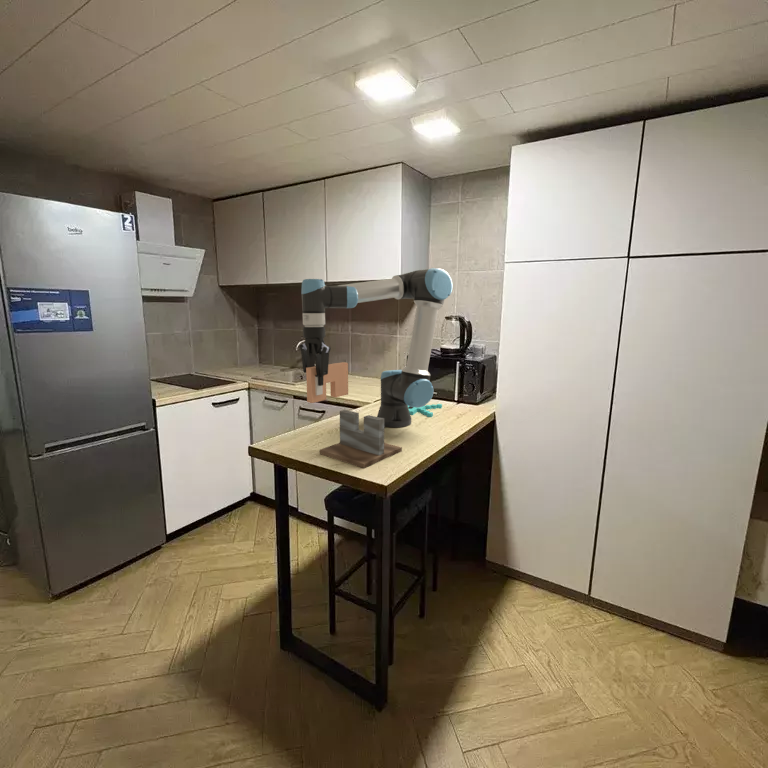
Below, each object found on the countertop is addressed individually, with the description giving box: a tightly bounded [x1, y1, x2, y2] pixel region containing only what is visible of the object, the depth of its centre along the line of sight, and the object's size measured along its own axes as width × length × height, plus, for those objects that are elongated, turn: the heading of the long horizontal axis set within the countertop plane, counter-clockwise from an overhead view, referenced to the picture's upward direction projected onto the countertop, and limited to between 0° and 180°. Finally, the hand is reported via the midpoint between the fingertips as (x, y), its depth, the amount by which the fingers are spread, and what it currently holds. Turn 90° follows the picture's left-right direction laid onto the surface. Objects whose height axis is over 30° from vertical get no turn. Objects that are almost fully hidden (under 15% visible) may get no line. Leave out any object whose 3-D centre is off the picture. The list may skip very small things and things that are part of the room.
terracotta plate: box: [305, 361, 349, 404], centre depth 150 cm, size 18×2×12 cm, turn 141°
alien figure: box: [408, 403, 443, 418], centre depth 203 cm, size 20×2×20 cm
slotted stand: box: [319, 409, 403, 469], centre depth 143 cm, size 20×20×14 cm
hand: (316, 393), depth 146 cm, fingers closed on terracotta plate, 2 cm apart
